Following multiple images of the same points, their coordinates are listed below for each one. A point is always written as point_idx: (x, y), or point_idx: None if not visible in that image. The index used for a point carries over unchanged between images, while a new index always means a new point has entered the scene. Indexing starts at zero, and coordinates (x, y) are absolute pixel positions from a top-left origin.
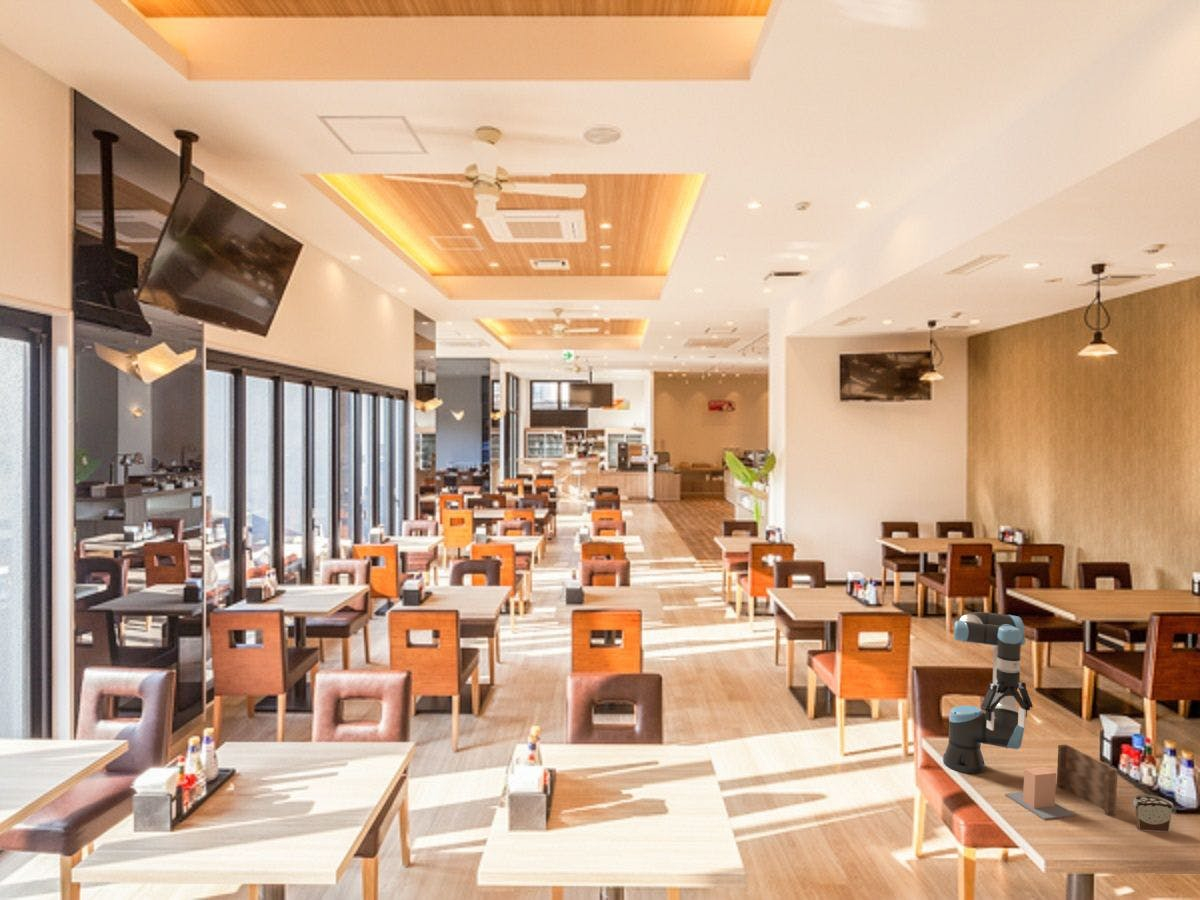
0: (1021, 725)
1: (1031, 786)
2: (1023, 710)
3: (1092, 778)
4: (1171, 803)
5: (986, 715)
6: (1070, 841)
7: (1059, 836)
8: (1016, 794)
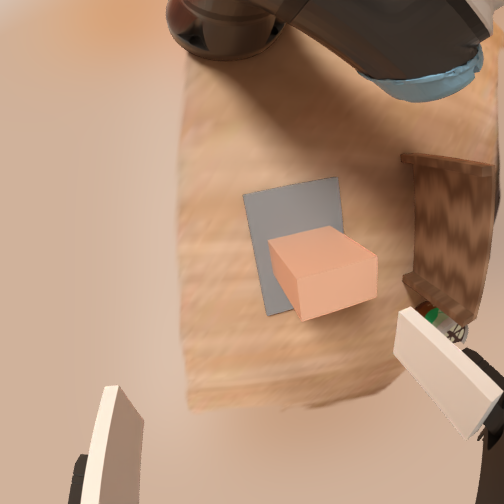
0: (399, 344)
1: (286, 288)
2: (465, 432)
3: (450, 248)
4: (463, 341)
5: (77, 489)
6: (264, 377)
7: (255, 366)
8: (274, 199)
